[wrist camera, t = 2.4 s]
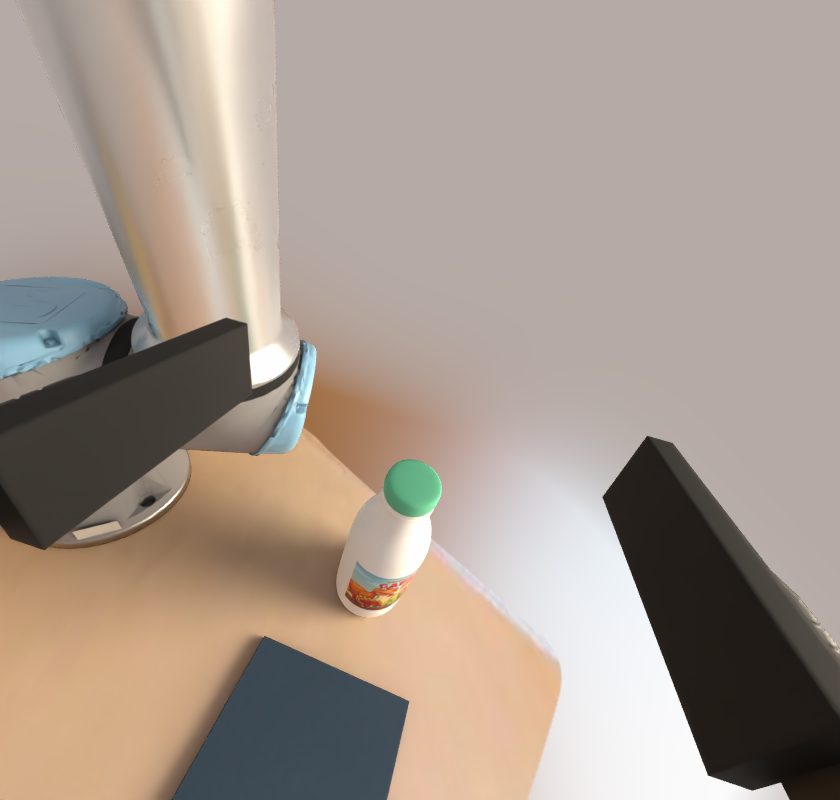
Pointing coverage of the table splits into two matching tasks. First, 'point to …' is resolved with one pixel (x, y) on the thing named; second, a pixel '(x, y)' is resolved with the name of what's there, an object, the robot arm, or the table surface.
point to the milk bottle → (388, 540)
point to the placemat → (298, 735)
